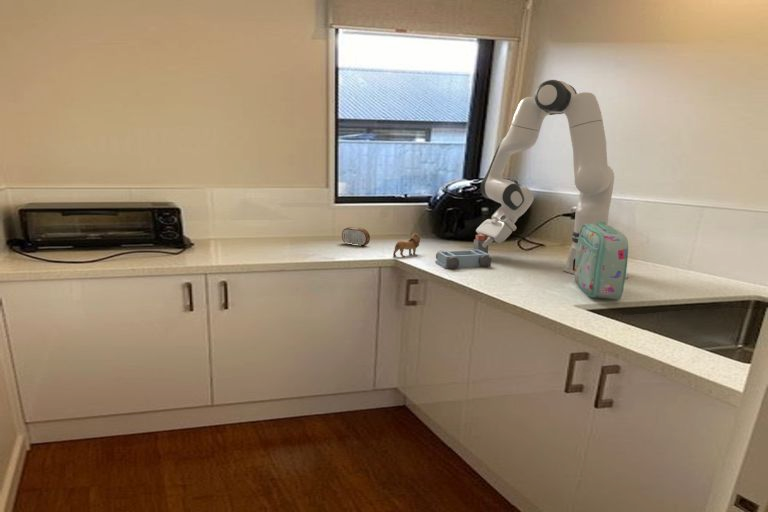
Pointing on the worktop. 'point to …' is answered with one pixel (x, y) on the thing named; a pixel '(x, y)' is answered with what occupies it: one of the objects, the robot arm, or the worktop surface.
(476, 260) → the chassis
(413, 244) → the lion figurine
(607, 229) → the lunch box
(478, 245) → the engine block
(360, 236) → the wooden speaker
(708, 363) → the worktop surface
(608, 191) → the robot arm
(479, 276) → the worktop surface
